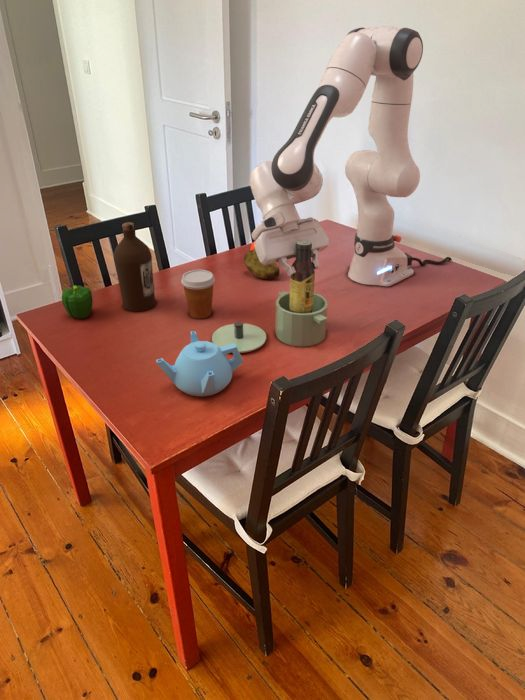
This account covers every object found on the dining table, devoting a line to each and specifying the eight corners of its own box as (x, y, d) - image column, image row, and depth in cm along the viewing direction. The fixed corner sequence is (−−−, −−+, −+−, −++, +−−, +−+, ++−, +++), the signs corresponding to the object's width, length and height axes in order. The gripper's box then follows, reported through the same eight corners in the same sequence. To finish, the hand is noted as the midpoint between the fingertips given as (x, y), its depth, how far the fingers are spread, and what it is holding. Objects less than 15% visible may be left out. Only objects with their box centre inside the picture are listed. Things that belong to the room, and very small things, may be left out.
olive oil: (115, 310, 157) (101, 228, 143) (131, 294, 165) (119, 216, 152) (148, 314, 154) (137, 232, 141) (162, 298, 163) (153, 219, 150)
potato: (261, 285, 171) (261, 262, 166) (240, 272, 180) (239, 249, 175) (282, 279, 174) (282, 256, 170) (260, 266, 183) (260, 244, 179)
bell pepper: (69, 309, 157) (62, 278, 152) (97, 307, 158) (91, 277, 153) (62, 322, 150) (55, 291, 145) (92, 321, 151) (85, 289, 146)
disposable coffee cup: (178, 318, 152) (174, 280, 146) (193, 303, 160) (190, 267, 153) (208, 323, 150) (205, 285, 143) (222, 308, 157) (220, 271, 151)
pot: (300, 313, 155) (301, 283, 150) (342, 341, 141) (344, 310, 136) (261, 325, 149) (260, 295, 144) (300, 356, 135) (301, 324, 130)
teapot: (212, 410, 117) (209, 369, 111) (157, 391, 123) (152, 351, 117) (246, 374, 128) (245, 336, 123) (194, 358, 134) (191, 321, 129)
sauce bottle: (308, 321, 138) (311, 249, 127) (286, 317, 140) (287, 245, 129) (315, 309, 143) (319, 239, 132) (293, 306, 145) (295, 236, 134)
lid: (248, 321, 150) (248, 305, 148) (276, 344, 140) (277, 327, 137) (202, 335, 144) (201, 319, 141) (228, 361, 133) (227, 343, 131)
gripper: (310, 222, 144) (330, 267, 142) (245, 236, 135) (266, 285, 133) (321, 210, 138) (342, 257, 136) (254, 224, 129) (276, 275, 127)
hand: (304, 271), depth 134 cm, fingers closed on sauce bottle, 6 cm apart
